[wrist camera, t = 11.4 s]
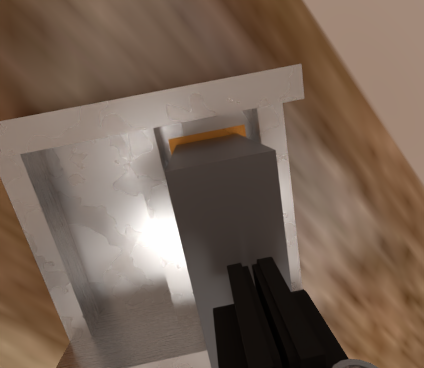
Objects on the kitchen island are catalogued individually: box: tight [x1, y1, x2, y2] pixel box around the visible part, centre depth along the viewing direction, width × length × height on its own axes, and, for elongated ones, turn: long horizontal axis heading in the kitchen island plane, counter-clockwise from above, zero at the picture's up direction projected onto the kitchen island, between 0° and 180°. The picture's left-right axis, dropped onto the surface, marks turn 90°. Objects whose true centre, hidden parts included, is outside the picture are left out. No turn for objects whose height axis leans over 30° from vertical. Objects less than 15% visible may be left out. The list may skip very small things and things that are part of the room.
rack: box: [0, 64, 304, 368], centre depth 16 cm, size 16×16×6 cm
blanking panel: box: [164, 134, 292, 368], centre depth 14 cm, size 10×4×8 cm, turn 10°
